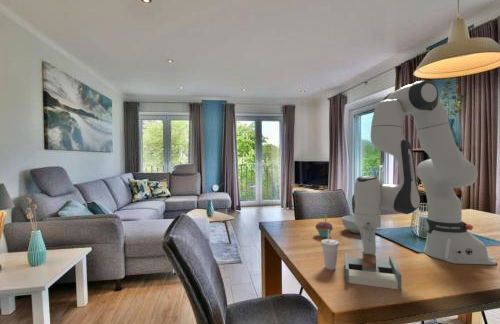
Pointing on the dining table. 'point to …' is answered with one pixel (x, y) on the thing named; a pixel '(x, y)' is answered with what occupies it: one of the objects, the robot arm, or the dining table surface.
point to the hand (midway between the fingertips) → (367, 257)
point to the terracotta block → (369, 260)
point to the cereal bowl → (350, 224)
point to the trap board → (373, 273)
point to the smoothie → (330, 252)
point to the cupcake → (324, 228)
